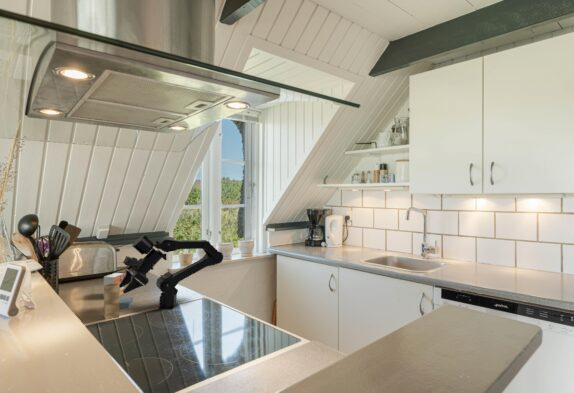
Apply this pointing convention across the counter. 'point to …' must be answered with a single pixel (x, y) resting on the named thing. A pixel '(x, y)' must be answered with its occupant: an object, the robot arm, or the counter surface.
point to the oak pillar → (111, 301)
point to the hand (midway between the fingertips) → (121, 289)
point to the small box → (115, 280)
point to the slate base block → (125, 302)
